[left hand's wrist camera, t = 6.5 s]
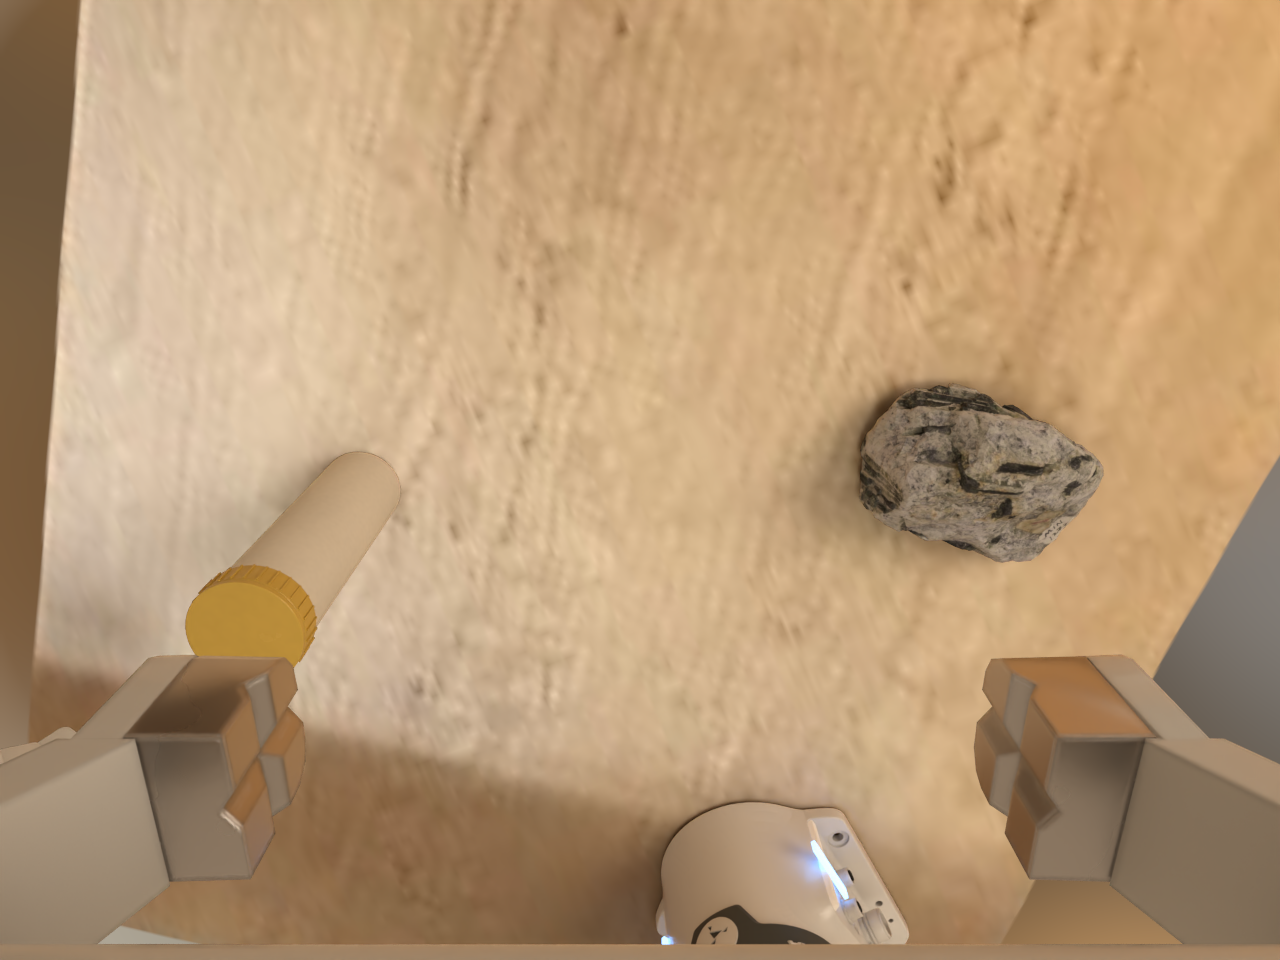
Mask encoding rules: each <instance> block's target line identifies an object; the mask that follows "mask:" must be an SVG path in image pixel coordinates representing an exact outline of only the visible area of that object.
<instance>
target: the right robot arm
mask: <svg viewBox="0 0 1280 960" xmlns="http://www.w3.org/2000/svg"><path fill="white" fill-rule="evenodd" d="M76 733H77V732H76V731H74V730H73V729H71V728H70V727H62V728H59V729H58V730H56V731H54V732H53V733H51V734H50V735H48V736H47V737H45V738H44V739H42V740H41V741H39V742H37V743H36V742H33V743H28V744H23V745H18V746H13V747H7V748H2V749H0V764H2V763H4V762H7V761H9V760H11V759H13V758H15V757H17V756H20V755H22V754H24V753H26V752H28V751H30V750H33V749H35V748H37V747H39V746H41V745H44V744H46V743H48V742H50V741H52V740H54V739H71V738H72V737H73V736H74V735H75V734H76ZM836 833H840V834H838V835H834V834H836ZM661 881H662V888H663V898H662V900H661V902H660V905H659V907H658V910H657V913H656V917H655V921H656V927H657V931H658V933H659V934H660V935H661V936H662V937H663V938H662V944H905V943H906V941H907V940H908V937H909V932H908V927H907V924H906V921H905V919H904V918H903V916H902V914H901V912H900V911H899V909H898V907H897V905H896V904H895V902H894V900H893V898H892V897H891V895H890V893H889V891H888V890H887V888H886V886H885V884H884V883H883V881H882V879H881V877H880V876H879V874H878V872H877V870H876V869H875V867H874V865H873V863H872V862H871V860H870V858H869V856H868V855H867V853H866V851H865V849H864V848H863V846H862V844H861V843H860V841H859V839H858V837H857V836H856V834H855V832H854V830H853V829H852V827H851V825H850V823H849V822H848V820H847V818H846V816H845V815H844V814H843V812H841V811H840V810H838V809H835V808H814V809H805V810H801V809H794V808H789V807H785V806H781V805H777V804H772V803H764V802H744V803H735V804H730V805H726V806H722V807H719V808H716V809H713V810H710V811H708V812H706V813H704V814H702V815H700V816H698V817H697V818H695V819H694V820H692V821H691V822H689V823H688V824H687V825H685V826H684V827H683V828H682V829H681V830H680V831H679V832H678V833H677V834H676V836H675V837H674V838H673V839H672V841H671V842H670V844H669V846H668V847H667V850H666V852H665V854H664V857H663V861H662V866H661Z"/></svg>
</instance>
